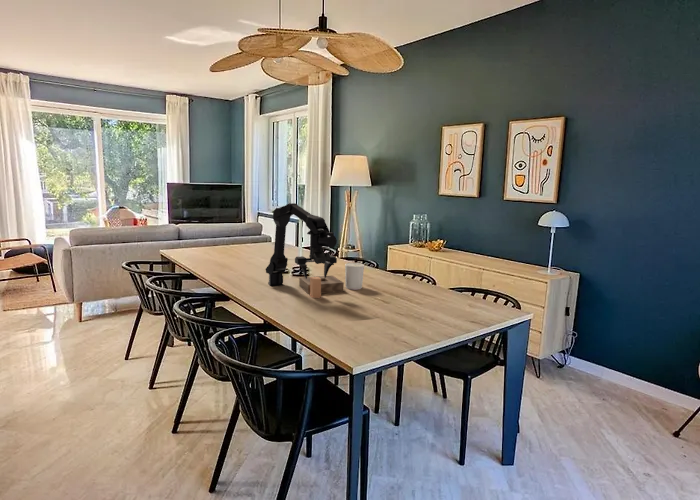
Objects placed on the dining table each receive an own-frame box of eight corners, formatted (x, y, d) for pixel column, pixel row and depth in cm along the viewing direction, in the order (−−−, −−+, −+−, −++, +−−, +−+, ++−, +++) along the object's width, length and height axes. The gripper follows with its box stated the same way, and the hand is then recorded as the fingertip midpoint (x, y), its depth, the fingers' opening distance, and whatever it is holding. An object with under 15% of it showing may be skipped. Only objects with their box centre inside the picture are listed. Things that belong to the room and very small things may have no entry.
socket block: (308, 294, 208) (308, 284, 208) (299, 285, 223) (299, 277, 222) (343, 291, 215) (343, 282, 214) (332, 283, 230) (332, 275, 229)
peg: (312, 298, 202) (312, 279, 201) (310, 295, 206) (310, 277, 204) (320, 297, 204) (321, 278, 202) (318, 295, 207) (318, 276, 206)
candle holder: (340, 288, 222) (341, 265, 220) (349, 284, 230) (350, 261, 228) (358, 291, 217) (358, 267, 215) (366, 287, 226) (367, 264, 224)
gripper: (301, 248, 190) (300, 283, 192) (341, 247, 197) (340, 281, 199) (294, 244, 200) (294, 277, 203) (333, 243, 207) (332, 275, 210)
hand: (315, 278), depth 203 cm, fingers open, 9 cm apart
